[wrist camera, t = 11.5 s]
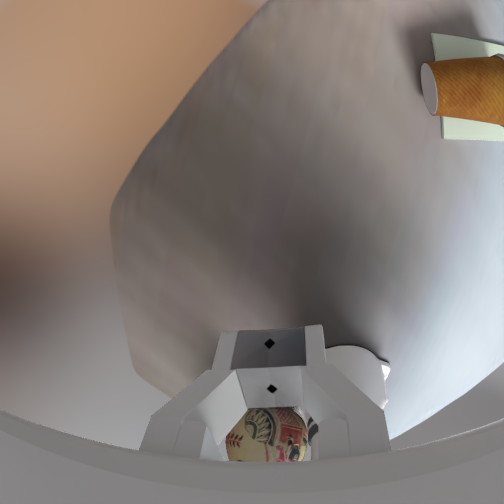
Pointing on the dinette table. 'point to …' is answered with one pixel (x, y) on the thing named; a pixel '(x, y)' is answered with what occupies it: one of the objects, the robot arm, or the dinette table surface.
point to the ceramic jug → (268, 436)
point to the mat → (458, 49)
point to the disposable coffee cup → (465, 88)
